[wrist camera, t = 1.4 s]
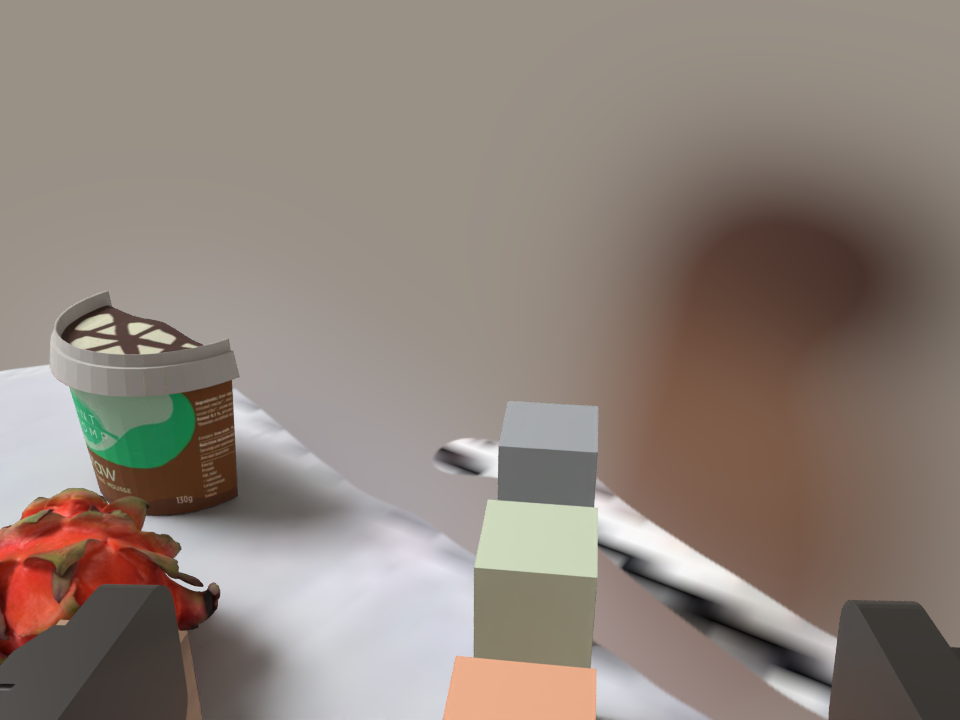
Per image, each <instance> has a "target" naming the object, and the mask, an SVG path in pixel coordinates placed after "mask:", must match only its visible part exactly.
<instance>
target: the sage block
mask: <svg viewBox="0 0 960 720" xmlns="http://www.w3.org/2000/svg"><path fill="white" fill-rule="evenodd" d="M597 536H598V508H595V507H581V506H568V505H554V504H541V503H527V502H514V501H500V500H488V503H487V507H486V512H485V517H484V522H483V527H482V532H481V536H480V541H479V546H478V551H477V556H476V561H475V566H474V658H483V659H494V660H504V661H515V662H526V663H537V664H548V665H558V666H569V667H580V668H590V667H591V653H592V640H593V627H594V612H595V600H596V587H597Z"/></svg>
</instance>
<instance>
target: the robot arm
mask: <svg viewBox="0 0 960 720" xmlns="http://www.w3.org/2000/svg"><path fill="white" fill-rule="evenodd" d="M187 706H188V692H187V684H186V677H185V671H184V664H183V658H182V651H181V644H180V638H179V631H178V625H177V618H176V611H175V605H174V600H173V596H172V594H171V592H170V590H169V589H168V587H166V586H164V585H131V584H103V585H101V586H99V587H98V588H97V589H96V590H95V591H94V592H93V593H92V594H91V595H90V597H89V598H88V599H87V600H86V601H85V602H84V604H83V605H82V606H81V607H80V608H79V610H78V611H77V612H76V613H75V614H74V615H73V617H72V618H71V619H70V620H69V621H68V622H67V624H66V625H53V626H52V627H50V628H48V629H47V630H45V631H44V632H42V633H41V634H39V635H38V636H36V637H35V638H33V639H32V640H30V641H28V642H27V643H25V644H24V645H22V646H21V647H19V648H18V649H16V650H15V651H13V652H12V653H11V654H10V655H9V657H8V658H7V659H6V660H5V661H4V662H3V663H2V664H1V665H0V720H186V716H187ZM829 720H960V648H954V647H952V648H951V647H950V646H949V645H948V643H947V642H946V641H945V639H944V637H943V636H942V635H941V633H940V632H939V630H938V629H937V627H936V626H935V624H934V623H933V621H932V620H931V619H930V617H929V616H928V614H927V613H926V611H925V610H924V608H923V607H922V606H921V605H920V604H919V603H917V602H914V601H869V600H868V601H867V600H848V601H847V602H846V603H845V604H844V606H843V608H842V611H841V616H840V623H839V631H838V639H837V647H836V656H835V664H834V672H833V681H832V689H831V697H830V705H829Z"/></svg>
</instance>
